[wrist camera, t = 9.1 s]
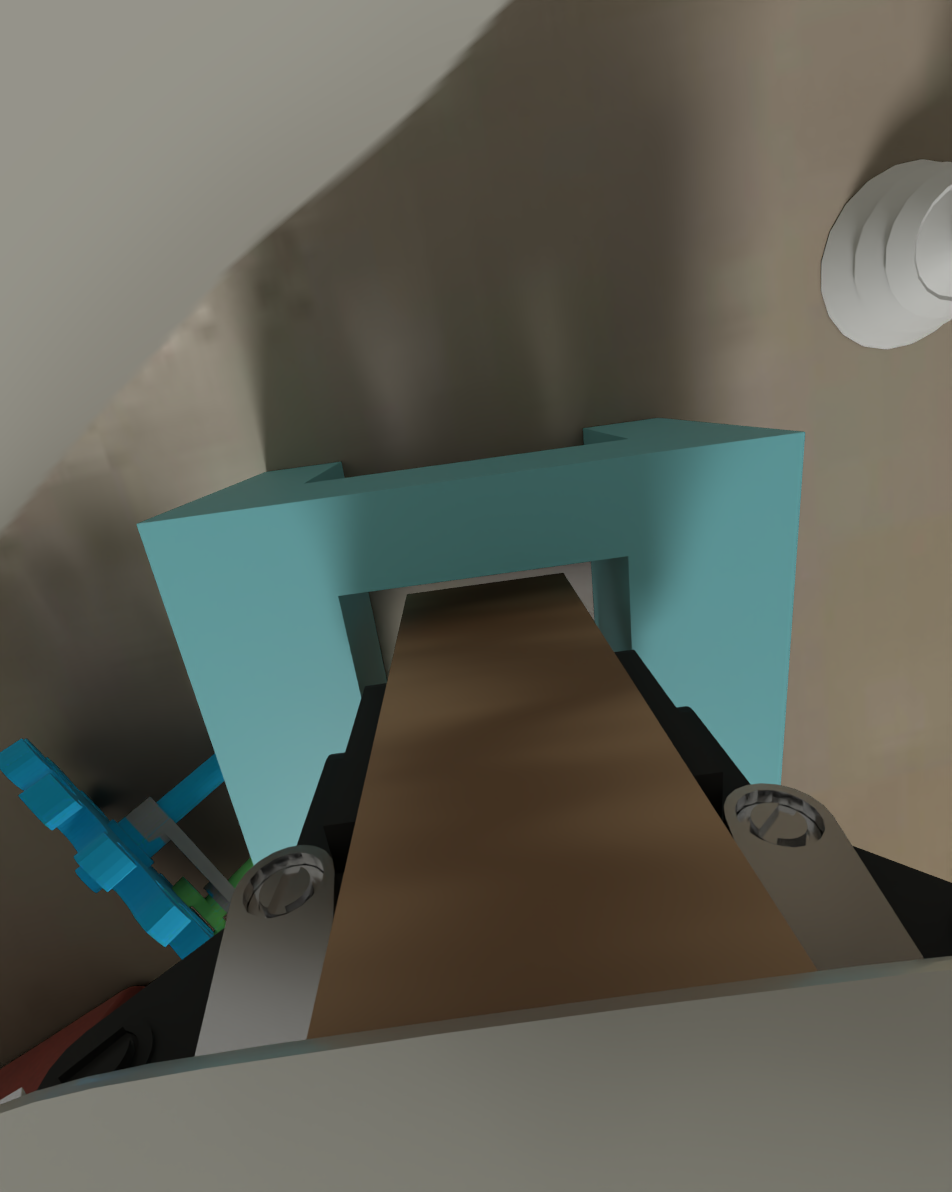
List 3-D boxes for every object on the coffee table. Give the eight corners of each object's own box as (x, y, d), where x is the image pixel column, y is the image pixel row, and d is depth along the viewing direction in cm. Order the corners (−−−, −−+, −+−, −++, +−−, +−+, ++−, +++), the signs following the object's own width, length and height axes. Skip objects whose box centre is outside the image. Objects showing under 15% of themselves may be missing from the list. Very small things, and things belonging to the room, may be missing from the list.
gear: (-46, 733, 19) (-6, 845, 12) (120, 631, 23) (223, 675, 16) (148, 914, 24) (253, 1064, 17) (259, 808, 28) (383, 899, 21)
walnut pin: (563, 573, 14) (1015, 1279, 3) (574, 708, 15) (909, 1557, 4) (407, 594, 14) (227, 1380, 3) (431, 728, 15) (378, 1623, 4)
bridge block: (658, 417, 18) (805, 431, 11) (663, 685, 22) (776, 839, 14) (265, 472, 18) (136, 524, 11) (331, 730, 22) (268, 908, 14)
